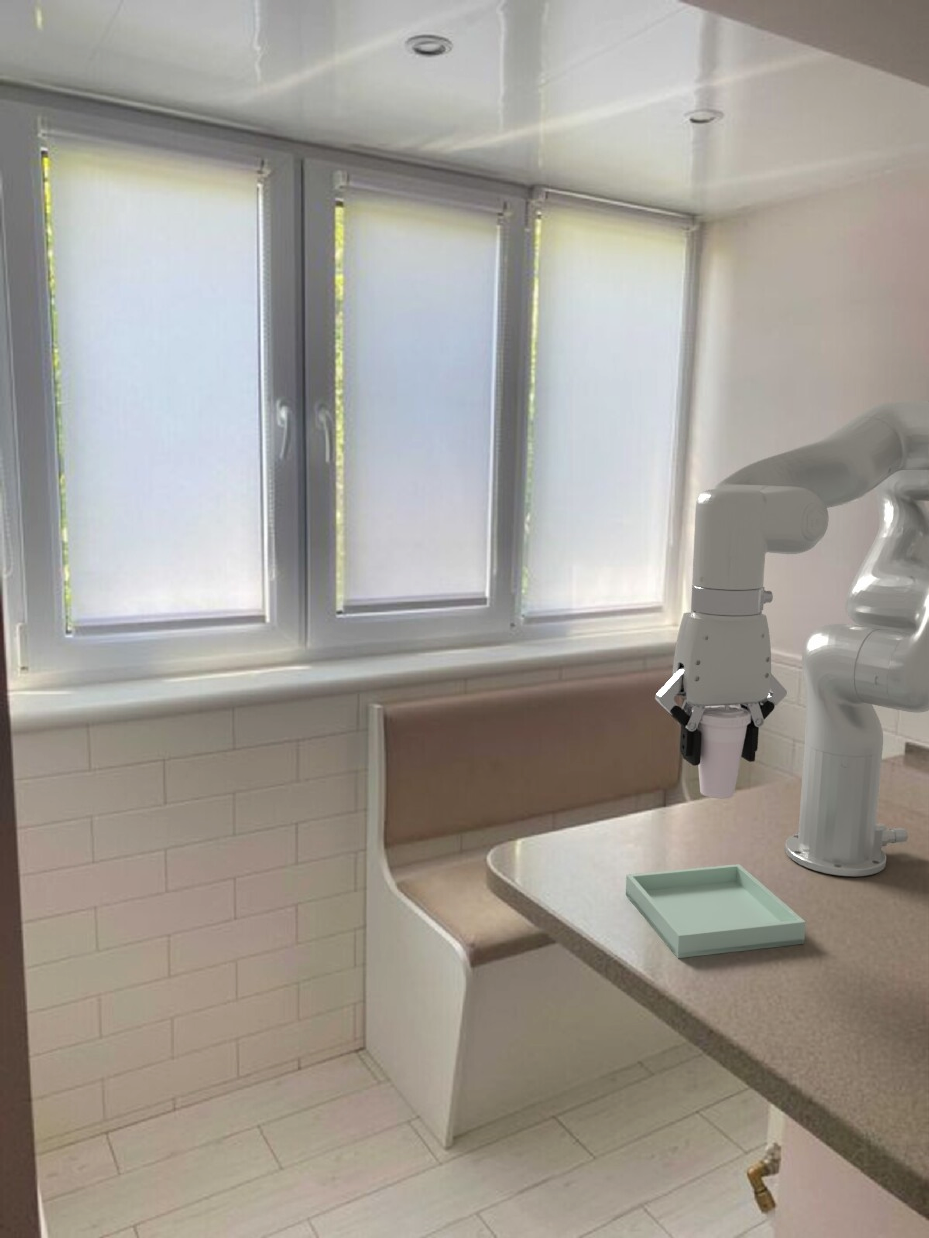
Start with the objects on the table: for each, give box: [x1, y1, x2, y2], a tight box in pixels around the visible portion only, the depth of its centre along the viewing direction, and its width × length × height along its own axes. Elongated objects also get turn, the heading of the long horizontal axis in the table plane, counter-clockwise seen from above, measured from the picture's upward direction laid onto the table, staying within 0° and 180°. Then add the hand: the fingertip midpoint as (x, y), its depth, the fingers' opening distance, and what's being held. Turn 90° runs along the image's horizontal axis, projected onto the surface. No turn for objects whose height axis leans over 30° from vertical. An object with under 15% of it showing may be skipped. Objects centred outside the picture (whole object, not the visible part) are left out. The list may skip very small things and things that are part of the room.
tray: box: [625, 863, 807, 959], centre depth 109 cm, size 15×15×3 cm
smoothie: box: [697, 705, 751, 800], centre depth 105 cm, size 6×6×14 cm
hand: (718, 758), depth 105 cm, fingers closed on smoothie, 6 cm apart
